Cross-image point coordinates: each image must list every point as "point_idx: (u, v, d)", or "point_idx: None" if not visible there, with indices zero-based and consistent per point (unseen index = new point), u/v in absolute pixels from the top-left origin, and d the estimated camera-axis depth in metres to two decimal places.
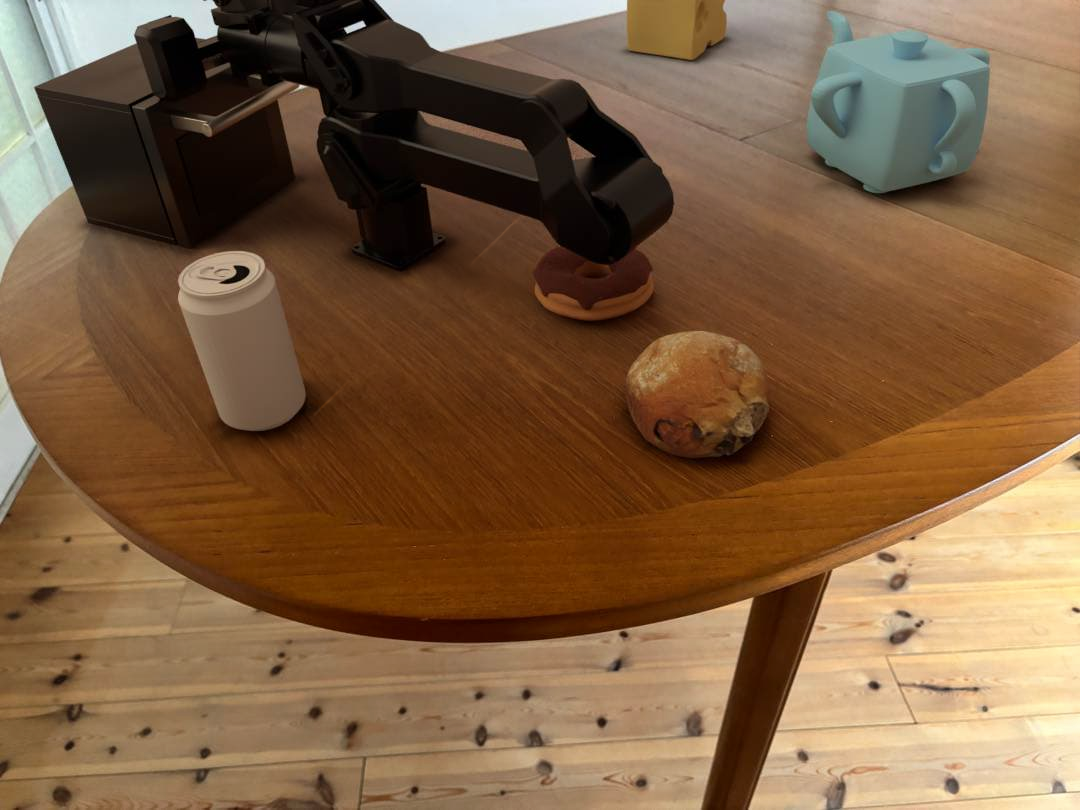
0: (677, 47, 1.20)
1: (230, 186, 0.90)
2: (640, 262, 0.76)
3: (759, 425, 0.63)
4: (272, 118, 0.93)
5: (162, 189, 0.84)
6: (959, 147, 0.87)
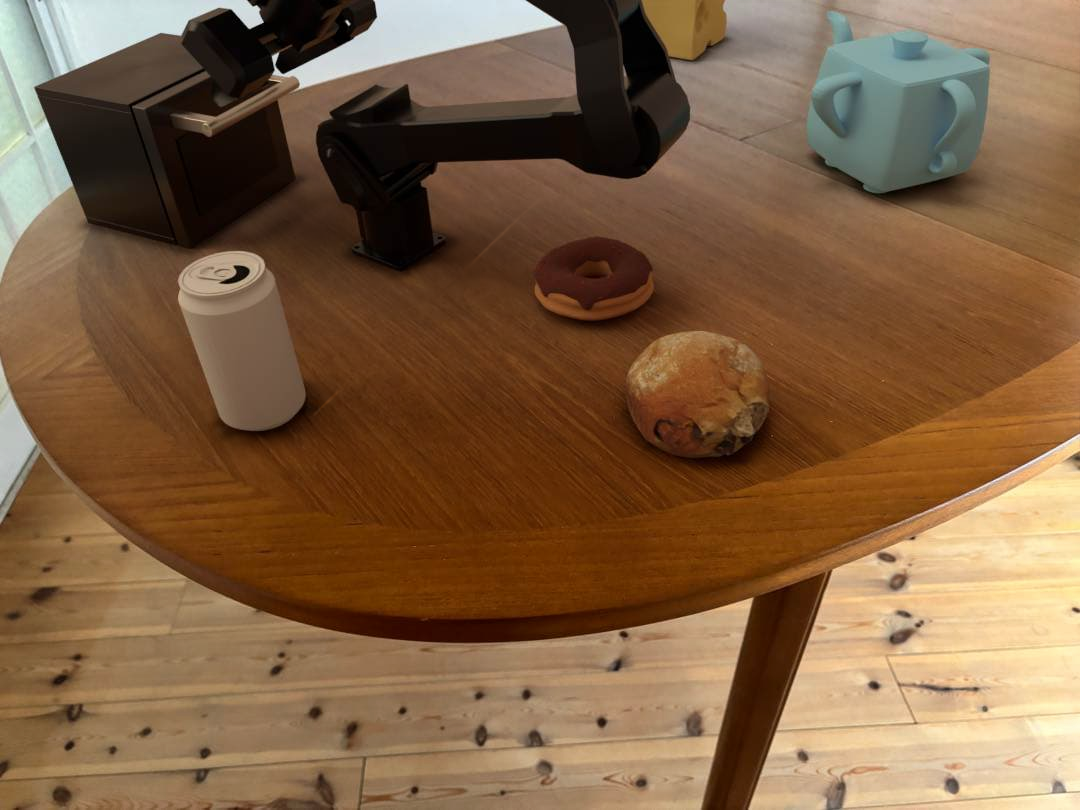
0: (677, 47, 1.20)
1: (230, 186, 0.90)
2: (640, 262, 0.76)
3: (759, 425, 0.63)
4: (272, 118, 0.93)
5: (162, 189, 0.84)
6: (959, 147, 0.87)
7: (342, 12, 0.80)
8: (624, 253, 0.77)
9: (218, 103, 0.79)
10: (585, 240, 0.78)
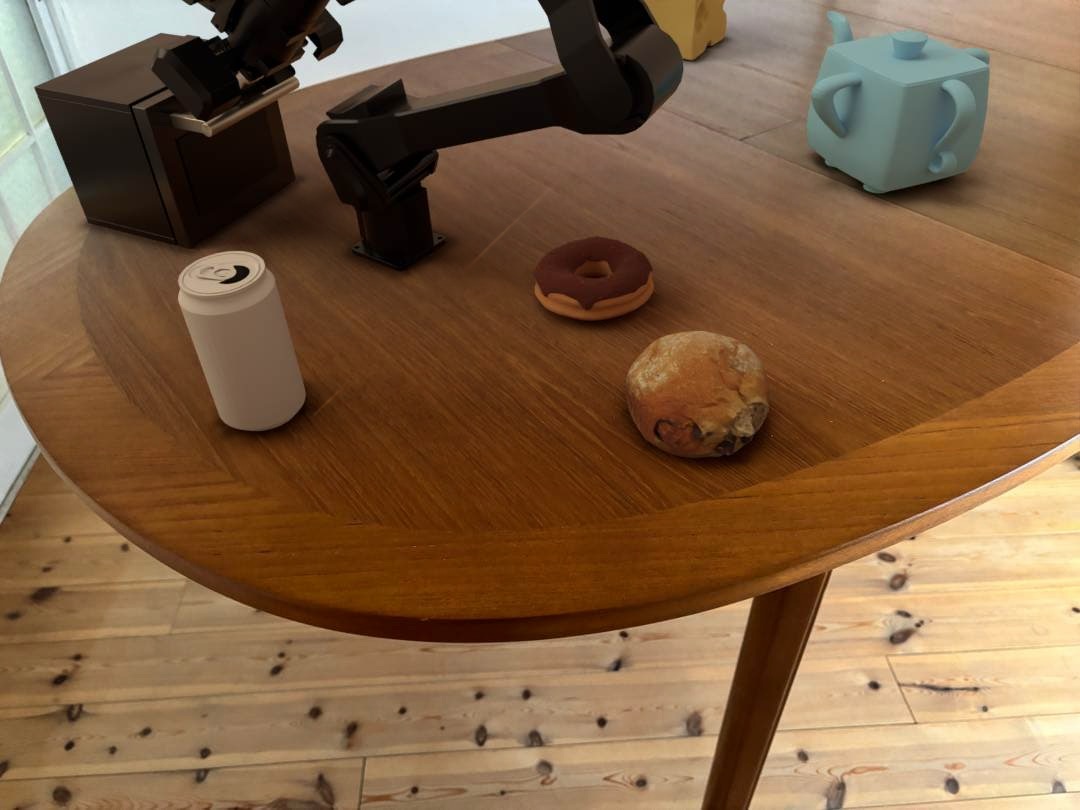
0: None
1: (230, 186, 0.90)
2: (640, 262, 0.76)
3: (759, 425, 0.63)
4: (272, 118, 0.93)
5: (162, 189, 0.84)
6: (959, 147, 0.87)
7: (309, 36, 0.83)
8: (624, 253, 0.77)
9: None
10: (585, 240, 0.78)
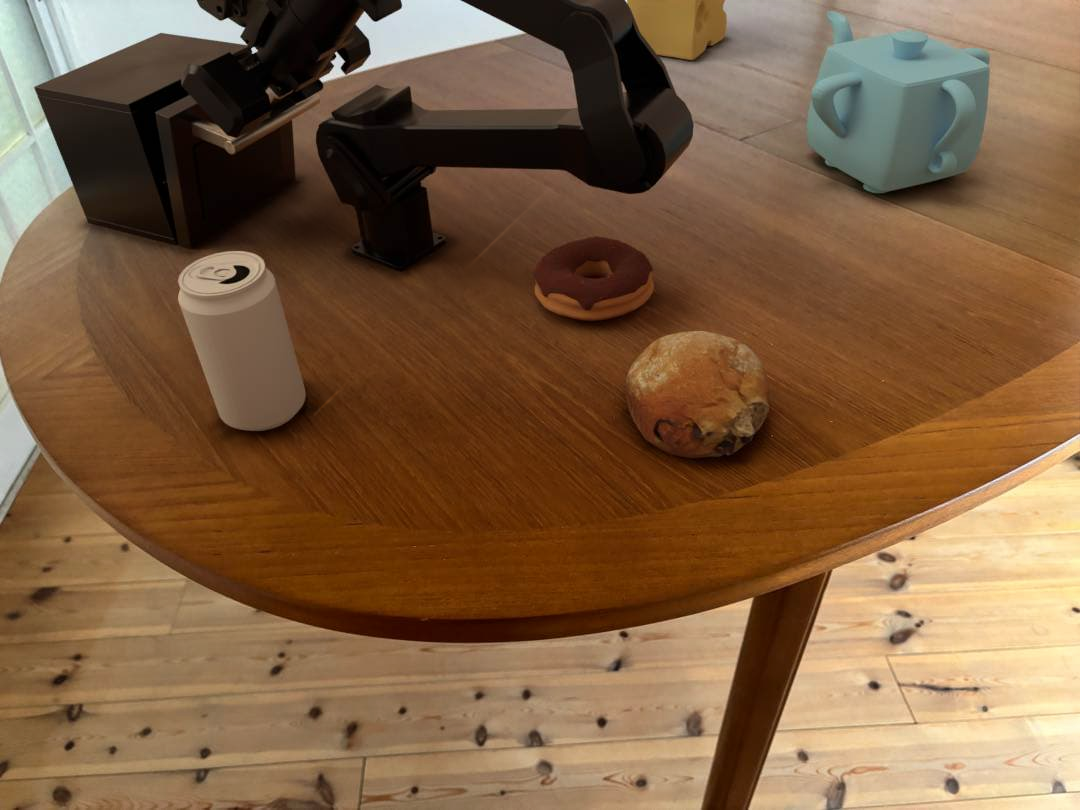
0: (677, 47, 1.20)
1: (236, 190, 0.90)
2: (640, 262, 0.76)
3: (759, 425, 0.63)
4: None
5: (172, 192, 0.84)
6: (959, 147, 0.87)
7: (337, 50, 0.82)
8: (624, 253, 0.77)
9: None
10: (585, 240, 0.78)
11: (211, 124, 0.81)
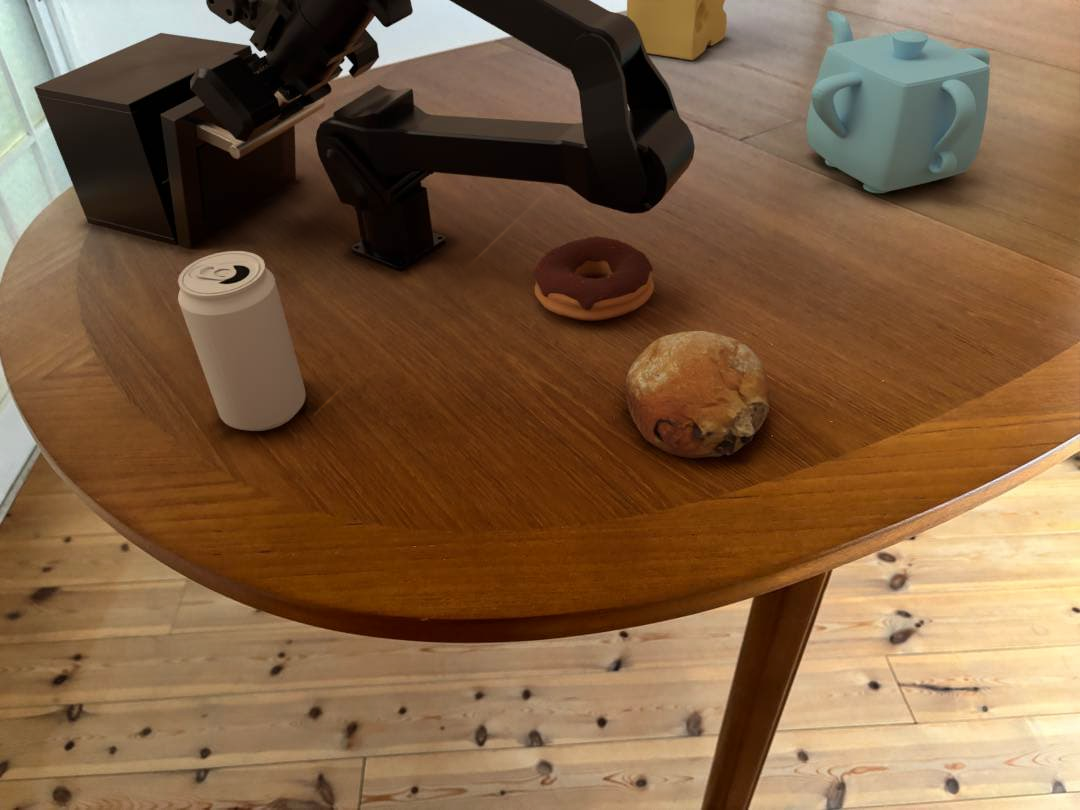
0: (677, 47, 1.20)
1: (237, 191, 0.90)
2: (640, 262, 0.76)
3: (759, 425, 0.63)
4: None
5: (174, 193, 0.84)
6: (959, 147, 0.87)
7: (345, 54, 0.82)
8: (624, 253, 0.77)
9: None
10: (585, 240, 0.78)
11: (216, 127, 0.81)
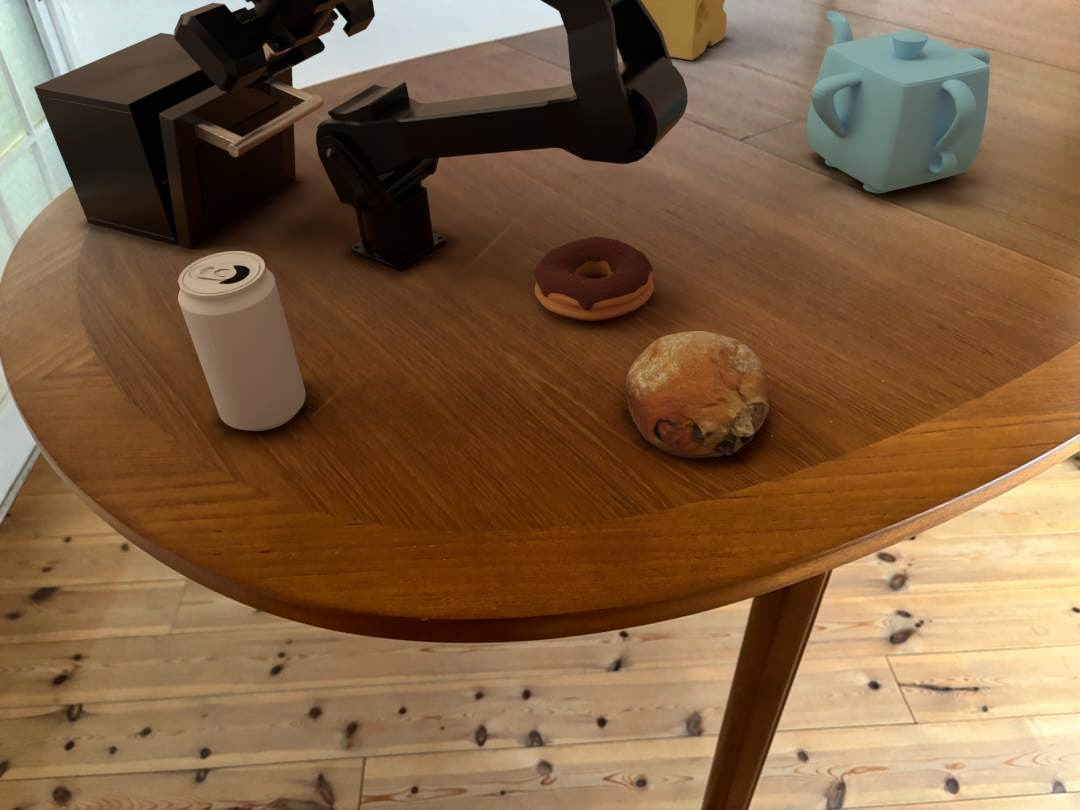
0: (677, 47, 1.20)
1: (237, 190, 0.90)
2: (640, 262, 0.76)
3: (759, 425, 0.63)
4: None
5: (173, 193, 0.84)
6: (959, 147, 0.87)
7: (339, 10, 0.80)
8: (624, 253, 0.77)
9: (247, 85, 0.82)
10: (585, 240, 0.78)
11: (214, 126, 0.81)
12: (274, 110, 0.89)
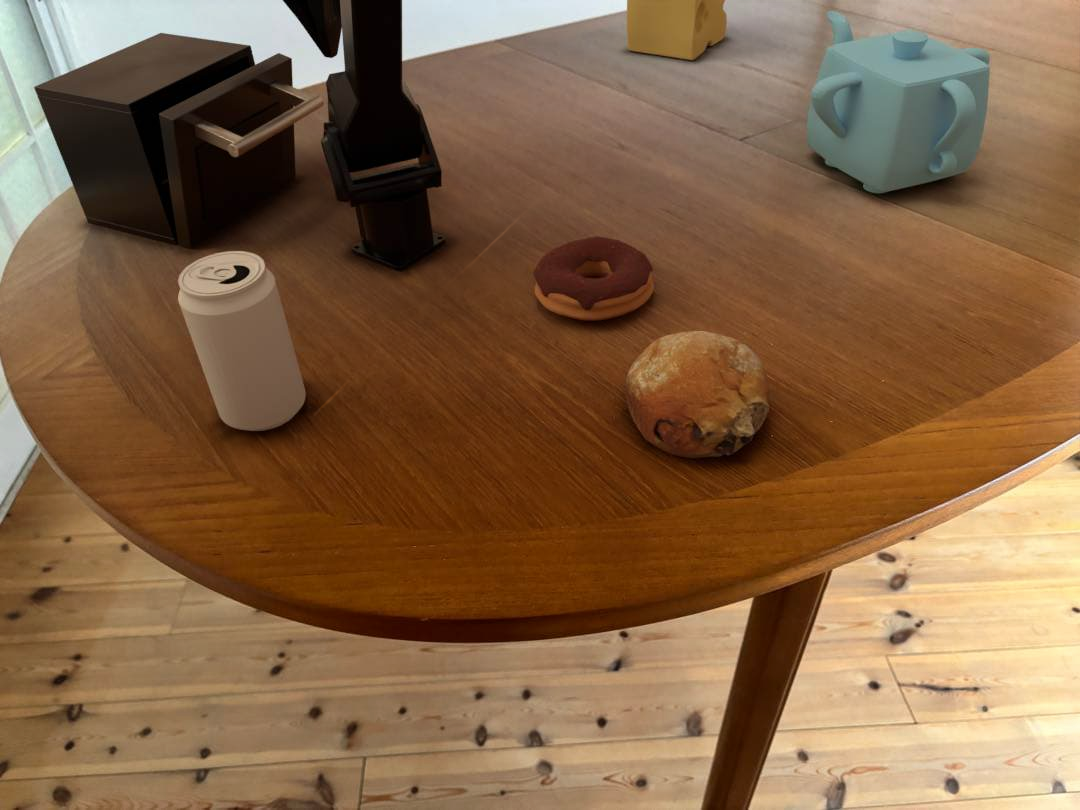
0: (677, 47, 1.20)
1: (237, 190, 0.90)
2: (640, 262, 0.76)
3: (759, 425, 0.63)
4: None
5: (173, 193, 0.84)
6: (959, 147, 0.87)
7: None
8: (624, 253, 0.77)
9: None
10: (585, 240, 0.78)
11: (214, 126, 0.81)
12: (274, 110, 0.89)
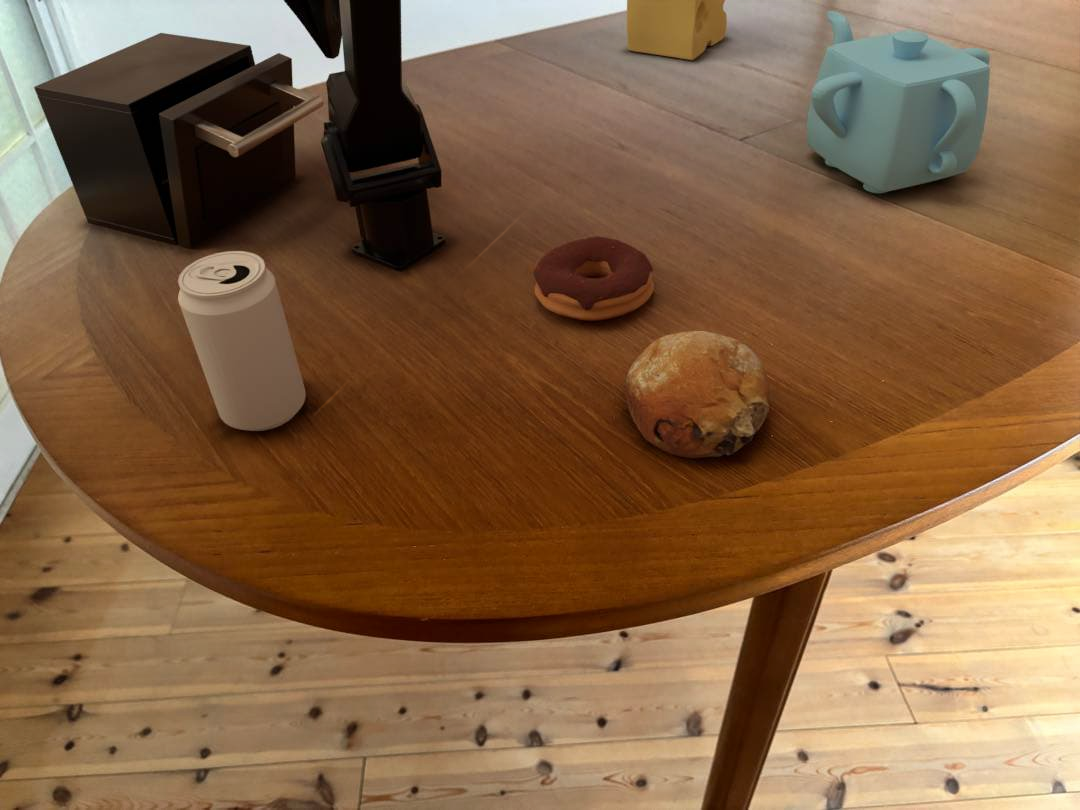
0: (677, 47, 1.20)
1: (237, 190, 0.90)
2: (640, 262, 0.76)
3: (759, 425, 0.63)
4: None
5: (173, 193, 0.84)
6: (959, 147, 0.87)
7: None
8: (624, 253, 0.77)
9: None
10: (585, 240, 0.78)
11: (214, 126, 0.81)
12: (274, 110, 0.89)
